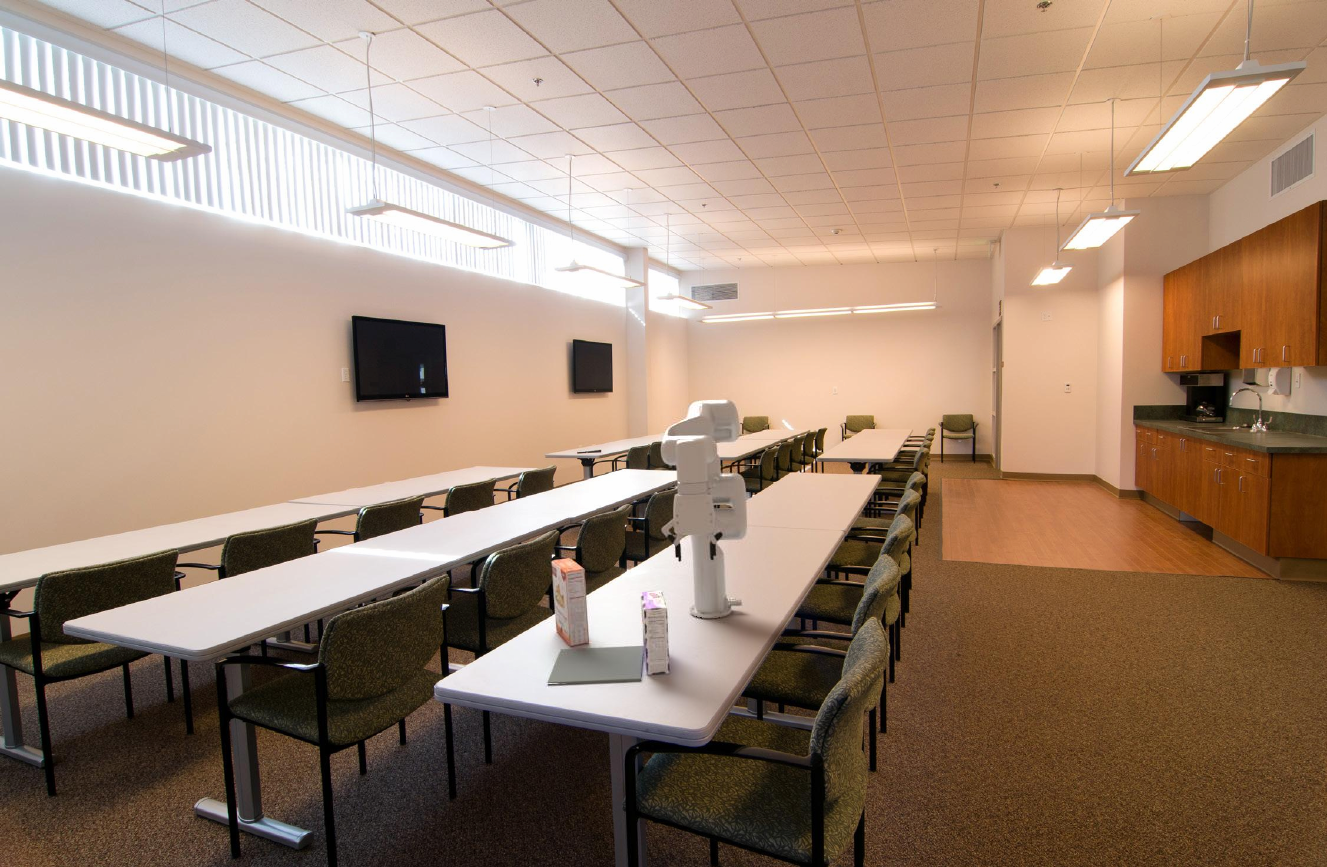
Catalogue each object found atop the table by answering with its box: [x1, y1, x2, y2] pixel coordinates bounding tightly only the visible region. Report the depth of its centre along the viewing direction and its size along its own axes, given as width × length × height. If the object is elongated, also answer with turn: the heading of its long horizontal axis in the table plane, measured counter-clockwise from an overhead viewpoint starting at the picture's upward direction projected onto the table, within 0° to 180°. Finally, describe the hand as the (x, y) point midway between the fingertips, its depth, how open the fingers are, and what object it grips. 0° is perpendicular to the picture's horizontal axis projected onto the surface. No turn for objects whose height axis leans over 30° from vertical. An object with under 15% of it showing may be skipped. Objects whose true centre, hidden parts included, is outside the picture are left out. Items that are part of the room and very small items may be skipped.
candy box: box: [640, 590, 670, 676], centre depth 167 cm, size 14×6×16 cm, turn 5°
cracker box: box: [551, 557, 590, 647], centre depth 187 cm, size 14×6×21 cm, turn 24°
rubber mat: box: [546, 645, 644, 684], centre depth 168 cm, size 22×20×1 cm
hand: (695, 559), depth 166 cm, fingers open, 7 cm apart
